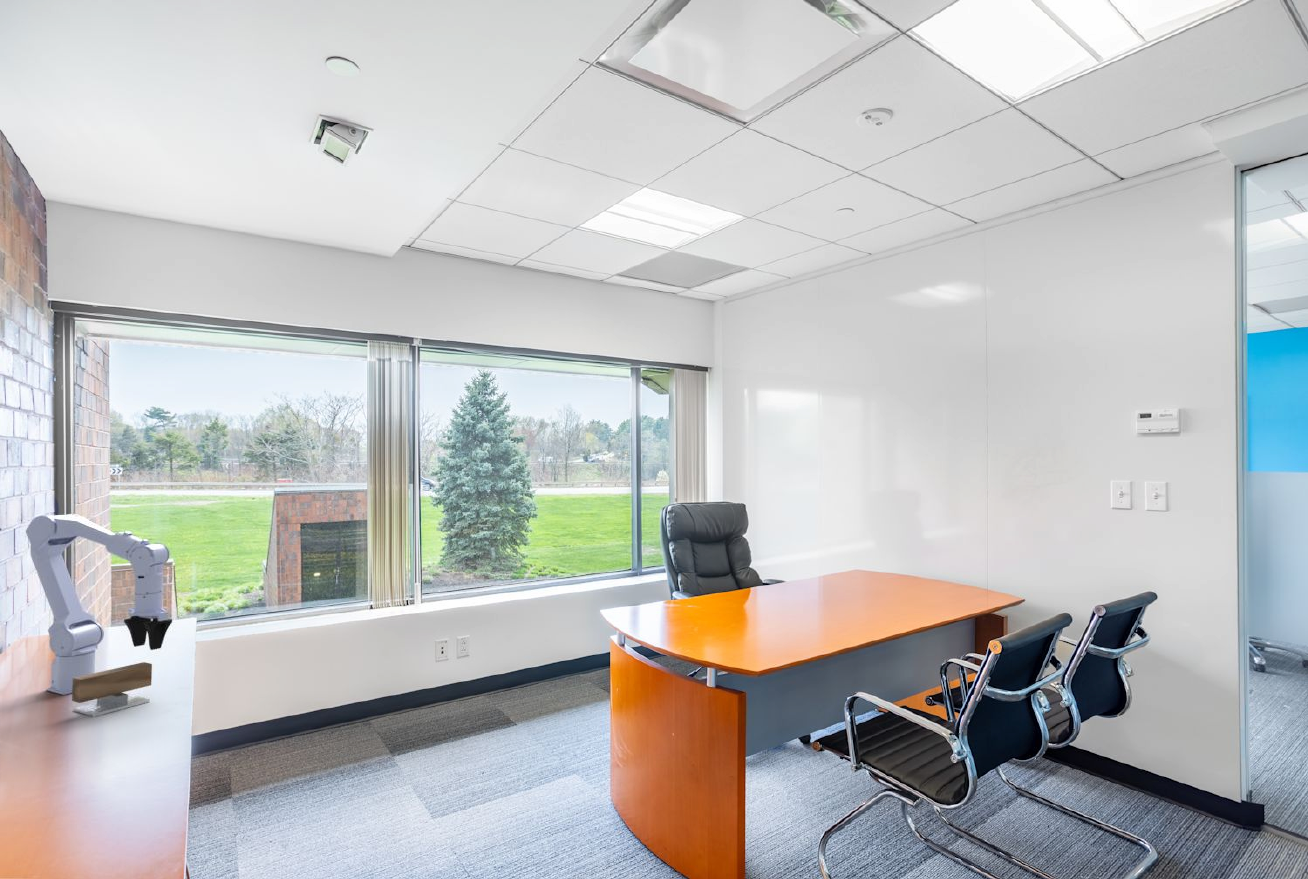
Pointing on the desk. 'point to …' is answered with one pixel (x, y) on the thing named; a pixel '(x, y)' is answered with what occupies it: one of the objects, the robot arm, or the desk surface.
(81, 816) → the desk surface
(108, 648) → the desk surface
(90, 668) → the robot arm
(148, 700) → the balance stand
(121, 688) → the walnut rod
